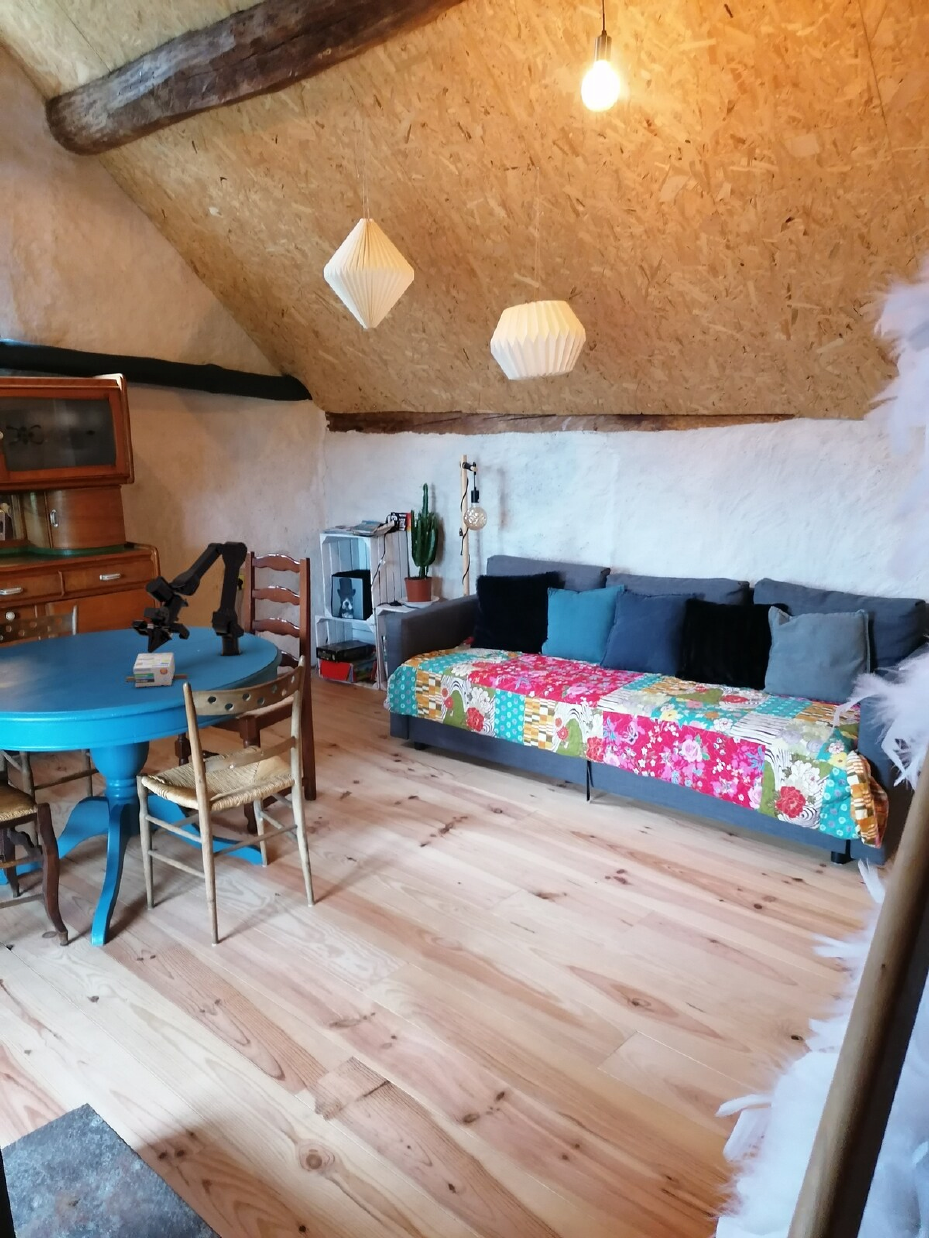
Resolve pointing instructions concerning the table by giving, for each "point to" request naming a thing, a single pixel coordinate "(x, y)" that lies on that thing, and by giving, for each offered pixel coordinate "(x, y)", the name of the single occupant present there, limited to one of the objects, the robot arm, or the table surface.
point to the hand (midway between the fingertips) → (149, 652)
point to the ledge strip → (175, 676)
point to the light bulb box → (154, 669)
